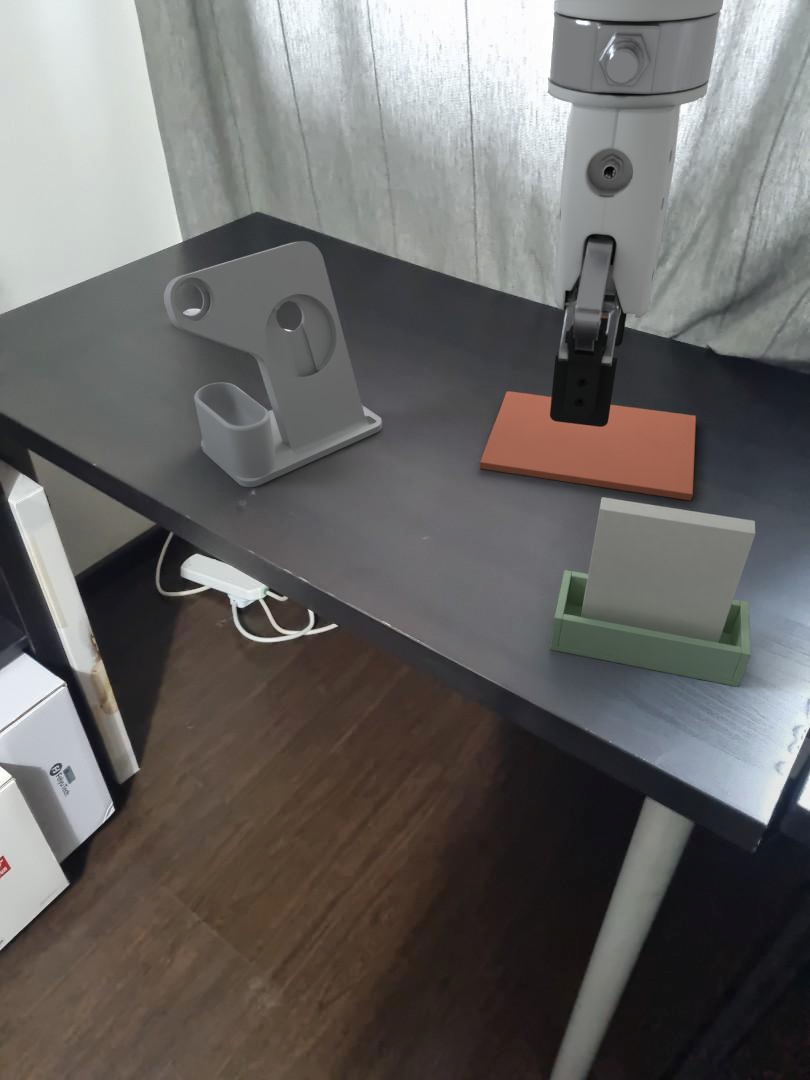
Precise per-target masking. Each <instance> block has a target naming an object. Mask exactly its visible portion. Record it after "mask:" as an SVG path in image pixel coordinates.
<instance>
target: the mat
mask: <svg viewBox="0 0 810 1080" xmlns="http://www.w3.org/2000/svg"><path fill="white" fill-rule="evenodd" d="M551 398H552V396H547V395H539V394H532V393H524V392H516V391H506V392H505V395H504V398H503V400H502V403H501V406H500V408H499V411H498V414H497V416H496V419H495V422H494V423H493V427H492V428H491V431H490V435H489V437H488V440H487V443H486V445H485V448H484V450H483V453H482V456H481V458H480V461H479V469H480V470H485V471H486V470H488V471H495V472H499V473H507V474H513V475H520V476H525V477H532V478H539V479H540V478H541V479H546V480H552V481H560V482H566V483H571V484H572V483H573V484H577V485H578V484H579V485H585V486H592V487H599V488H604V489H611V490H619V491H624V492H632V493H637V494H644V495H645V494H646V495H650V496H657V497H665V498H671V499H676V500H677V499H678V500H684V501H690V502H691V501H692V499H693V495H694V479H695V478H694V477H695V475H694V474H695V452H696V450H695V449H696V427H697V416H696V415H692V414H685V413H676V412H671V411H670V412H669V411H663V410H662V411H661V410H654V409H647V408H640V407H631V406H624V405H616V404H611V406H610V412H609V419H608V423H607V424H606V425H605V426H603V427H597V426H589V425H581V424H573V423H565V422H556V421H553V420H552V419H551V417H550V408H551Z"/></svg>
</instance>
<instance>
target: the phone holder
mask: <svg viewBox="0 0 810 1080" xmlns="http://www.w3.org/2000/svg"><path fill="white" fill-rule="evenodd" d="M187 284H189V285H192V286H194V287H196V289H198V290H199V292H200V294H201V296H202V297H201V298H202V306H201V308H200V309H201V310H200V311H199V312H198V313H197V314H195V315H192V316H189V315H185V314H184V313H183V312H182V311H181V310H180V309H179V307H178V306H177V303H176V294H177V291H178V290H179V289H180V288H181V287H182V286H183V285H187ZM286 302H292V303H294V304H296V305H297V306H298V308H299V309H300V312H301V321H300V324H299V325H298V327H296V329H294V330H291V331H286V330H285V329H286V328H283V327H281V325H280V323H279V321H278V319H277V314H278V310H280V308H281V307H282V305H284V304H285V303H286ZM163 303H164V307H165V310H166V313H167V315H168V319H169V320H170V322H171V324H172V325H173V326H175V328H176V329H178V330H180V331H182V332H185V333H188V334H191V335H193V336H197V337H200V338H202V339H205V340H208V341H211V342H214V343H217V344H220V345H222V346H225V347H229V348H231V349H234V350H237V351H240V352H243V353H246V354H249V355H250V356H252V357H253V358H254V359H255V360H256V362H257V364H258V368H259V370H260V374H261V377H262V380H263V384H264V387H265V390H266V393H267V396H268V400H269V403H270V407H271V409H270V410H268V409H267V408H265V406H263V405H261V403H259V402H258V401H256V400H255V399H254V398H252V397H251V396H250V395H249V394H247V393H246V392H245V391H244V390H242V389H241V388H239V386H237V385H235V384H233V383H229V382H213V383H209V384H206V385H203V386H202V387H200V388H199V389H198V390H197V391H196V392H195V394H194V397H193V399H194V400H193V401H194V404H195V409H196V414H197V419H198V425H199V428H200V429H199V430H200V433H201V438H202V439H201V441H200V446H201V450H202V452H203V454H205V455H206V456H207V457H208V458H209V459H211V460H212V462H214V463H215V464H216V465H217V466H218V467H219V468H221V469H222V470H223V471H224V472H225V473H226V474H227V475H228V476H229V477H230V478H231V479H232V480H234V482H236V483H237V484H238V485H240V486H241V487H244V488H255V487H258V486H261V485H263V484H265V483H268V482H271V481H272V480H274V479H276V478H280V477H281V476H283V475H285V474H287V473H290V472H292V471H295V470H297V469H299V468H301V467H303V466H306V465H308V464H310V463H313V462H315V461H317V460H319V459H321V458H324V457H325V456H328V455H331V454H332V453H334V452H337V451H339V450H341V449H344V448H346V447H348V446H350V445H352V444H354V443H357V442H358V441H361V440H363V439H366V438H368V437H370V436H372V435H374V434H377V433H378V432H380V431H381V430H382V428H383V421H382V417H380V416H379V415H377V414H376V413H374V412H373V411H372V410H371V409H369V408H367V407H366V406H364V405H363V403H362V400H361V395H360V393H359V387H358V386H357V381H356V377H355V373H354V370H353V366H352V361H351V358H350V354H349V350H348V346H347V342H346V339H345V335H344V332H343V328H342V324H341V320H340V316H339V313H338V309H337V305H336V301H335V298H334V294H333V289H332V286H331V284H330V278H329V274H328V271H327V267H326V264H325V260H324V256H323V253H322V252H321V250H320V249H319V247H317V246H316V245H315V244H314V243H312V242H311V241H307V240H300V241H293V242H289V243H285V244H282V245H279V246H276V247H273V248H269V249H266V250H262V251H259V252H256V253H252V254H249V255H245V256H242V257H238V258H235V259H232V260H229V261H225V262H222V263H219V264H215V265H212V266H209V267H205V268H202V269H199V270H196V271H192V272H189V273H185V274H182V275H179V276H176V277H174V278H173V279H171V280H170V281H169V282H168V283H167V285H166V287H165V289H164V292H163Z"/></svg>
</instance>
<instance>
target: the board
mask: <svg viewBox="0 0 810 1080" xmlns="http://www.w3.org/2000/svg"><path fill="white" fill-rule="evenodd" d="M755 537H756V521H755V520H752V519H745V518H738V517H733V516H732V517H731V516H727V515H720V514H719V515H718V514H712V513H708V512H707V513H706V512H699V511H693V510H687V509H680V508H674V507H668V506H660V505H654V504H648V503H642V502H636V501H629V500H623V499H616V498H611V497H604V496H603V497H601V499H600V505H599V511H598V516H597V522H596V528H595V534H594V539H593V543H592V551H591V557H590V560H589V561H590V562H589V567H588V573H587V574H588V578H587V584H586V590H585V596H584V601H583V607H582V613H581V617H583V618H588V619H594V620H599V621H604V622H610V623H615V624H620V625H626V626H631V627H636V628H642V629H647V630H652V631H658V632H663V633H668V634H674V635H679V636H684V637H690V638H695V639H700V640H706V641H711V642H716V643H719V640H720V637H721V634H722V631H723V628H724V625H725V622H726V619H727V616H728V613H729V610H730V608H731V605H732V602H733V600H735V599H734V598H735V595H736V593H737V590H738V587H739V583H740V581H741V578H742V575H743V572H744V569H745V566H746V563H747V560H748V557H749V555H750V552H751V549H752V545H753V542H754V539H755Z"/></svg>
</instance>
